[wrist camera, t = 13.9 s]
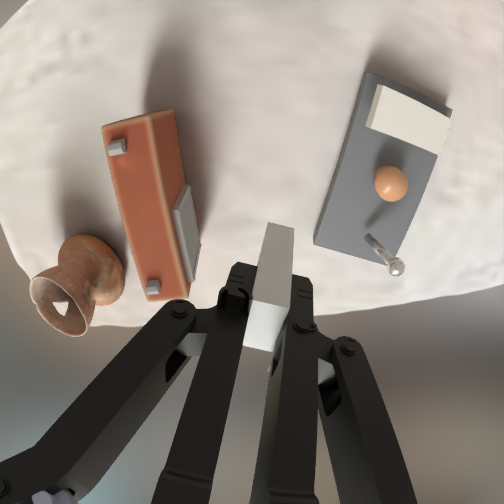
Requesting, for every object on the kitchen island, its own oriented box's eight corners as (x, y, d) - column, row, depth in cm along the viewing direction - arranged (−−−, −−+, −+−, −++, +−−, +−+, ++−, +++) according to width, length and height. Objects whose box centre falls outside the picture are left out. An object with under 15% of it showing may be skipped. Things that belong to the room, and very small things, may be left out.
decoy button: (379, 160, 33) (383, 164, 32) (407, 171, 33) (412, 175, 32) (368, 190, 35) (371, 195, 34) (396, 200, 35) (400, 205, 34)
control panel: (134, 116, 38) (88, 129, 25) (182, 106, 38) (155, 113, 25) (162, 250, 48) (139, 309, 35) (205, 245, 48) (195, 305, 35)
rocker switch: (377, 84, 27) (383, 85, 26) (446, 117, 30) (452, 119, 29) (365, 126, 30) (370, 128, 29) (434, 153, 32) (440, 156, 31)
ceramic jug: (82, 293, 58) (46, 338, 46) (55, 233, 51) (9, 272, 39) (152, 293, 54) (117, 348, 42) (125, 221, 48) (76, 267, 35)
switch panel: (364, 73, 32) (371, 71, 28) (444, 107, 32) (458, 111, 28) (313, 236, 44) (313, 250, 40) (386, 257, 44) (392, 273, 40)
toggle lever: (362, 227, 38) (399, 264, 31) (374, 228, 39) (411, 264, 32) (356, 242, 39) (391, 280, 33) (368, 242, 40) (403, 279, 33)
